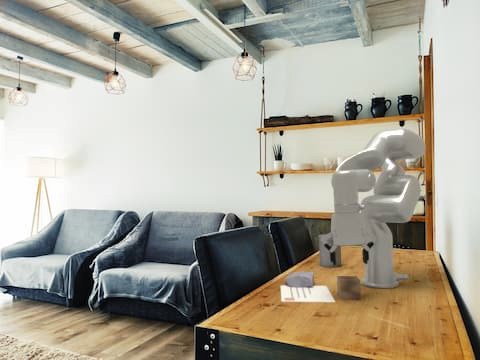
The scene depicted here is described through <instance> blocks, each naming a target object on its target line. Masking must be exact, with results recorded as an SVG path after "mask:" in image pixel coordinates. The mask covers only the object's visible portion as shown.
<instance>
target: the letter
mask: <svg viewBox="0 0 480 360" xmlns="http://www.w3.org/2000/svg"><path fill="white" fill-rule="evenodd" d="M280 298H281V299H280V300H281V301H280V302H281V303H336V300H335V299H334V297H333V295H332V294H331V292H330V290H329V288H328V286H327V285H313V286H312V287H292V286H288V285H287V284H286V285H285V284H283V285H280Z"/></svg>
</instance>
